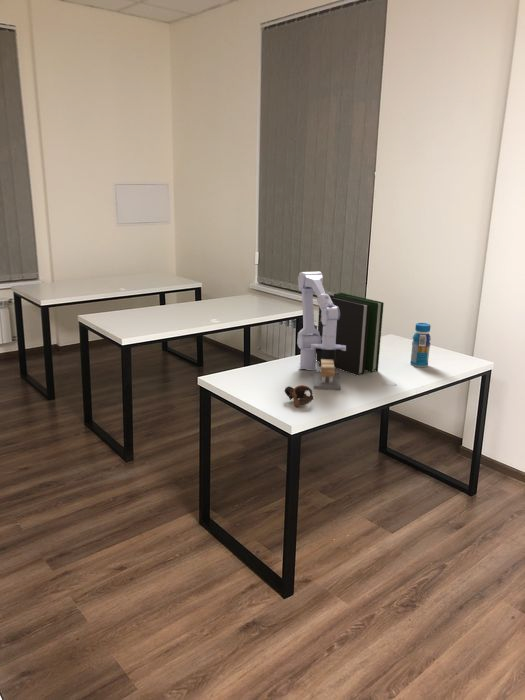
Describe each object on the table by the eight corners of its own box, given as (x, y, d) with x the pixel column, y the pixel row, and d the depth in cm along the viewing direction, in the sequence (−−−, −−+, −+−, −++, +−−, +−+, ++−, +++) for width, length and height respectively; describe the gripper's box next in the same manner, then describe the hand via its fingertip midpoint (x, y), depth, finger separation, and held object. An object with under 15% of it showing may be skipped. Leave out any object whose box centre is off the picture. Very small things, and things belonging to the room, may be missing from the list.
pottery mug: (315, 401, 229) (318, 388, 223) (305, 418, 223) (308, 405, 217) (287, 390, 232) (289, 376, 226) (277, 406, 226) (279, 392, 220)
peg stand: (313, 373, 261) (313, 364, 260) (338, 375, 260) (338, 366, 259) (313, 388, 242) (314, 379, 241) (340, 390, 241) (341, 380, 240)
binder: (378, 371, 268) (384, 302, 259) (356, 376, 259) (361, 305, 251) (337, 356, 289) (341, 292, 280) (315, 361, 280) (318, 295, 271)
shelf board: (320, 366, 257) (320, 358, 256) (332, 367, 256) (333, 359, 255) (321, 376, 243) (321, 368, 242) (334, 376, 243) (334, 368, 242)
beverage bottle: (406, 364, 279) (410, 323, 274) (416, 361, 285) (420, 321, 279) (421, 368, 273) (425, 327, 268) (431, 365, 279) (436, 324, 273)
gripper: (312, 336, 242) (310, 367, 246) (347, 338, 241) (345, 369, 245) (311, 332, 249) (310, 363, 252) (346, 334, 248) (344, 364, 252)
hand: (327, 365), depth 249 cm, fingers closed on shelf board, 5 cm apart
